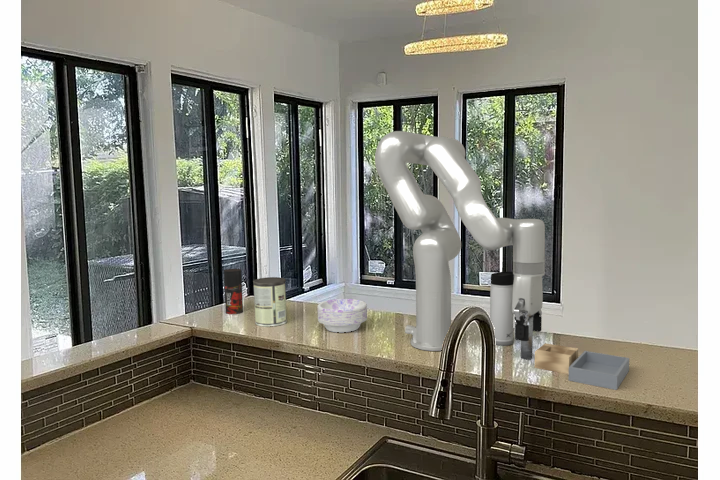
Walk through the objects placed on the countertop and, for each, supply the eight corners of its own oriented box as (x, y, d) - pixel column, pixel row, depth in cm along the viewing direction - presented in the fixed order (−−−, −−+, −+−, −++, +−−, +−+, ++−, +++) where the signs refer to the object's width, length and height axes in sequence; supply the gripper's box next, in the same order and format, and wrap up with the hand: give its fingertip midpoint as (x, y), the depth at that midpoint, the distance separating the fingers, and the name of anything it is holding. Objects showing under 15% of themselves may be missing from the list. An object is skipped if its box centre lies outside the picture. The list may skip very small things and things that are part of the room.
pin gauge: (518, 358, 138) (518, 312, 136) (522, 355, 140) (523, 309, 139) (530, 360, 136) (531, 313, 134) (534, 357, 138) (535, 311, 137)
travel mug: (515, 346, 147) (516, 273, 145) (490, 345, 149) (491, 273, 146) (513, 339, 153) (514, 269, 151) (489, 338, 155) (490, 269, 152)
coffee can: (260, 318, 182) (259, 276, 180) (290, 319, 180) (289, 277, 179) (250, 326, 172) (248, 282, 170) (281, 327, 170) (280, 283, 168)
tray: (568, 380, 122) (568, 367, 122) (584, 362, 133) (584, 350, 133) (616, 390, 116) (617, 376, 116) (628, 370, 128) (629, 358, 127)
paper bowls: (322, 337, 158) (321, 311, 157) (314, 324, 173) (313, 300, 172) (372, 333, 162) (372, 307, 161) (360, 320, 177) (360, 296, 176)
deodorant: (223, 314, 188) (221, 271, 186) (228, 310, 194) (226, 268, 192) (240, 314, 187) (238, 271, 186) (245, 310, 193) (243, 268, 192)
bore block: (534, 367, 131) (534, 351, 130) (544, 358, 137) (545, 343, 137) (568, 374, 126) (569, 357, 126) (577, 364, 132) (578, 348, 132)
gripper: (525, 262, 144) (525, 325, 146) (501, 272, 130) (501, 342, 132) (554, 264, 140) (554, 329, 142) (532, 275, 126) (532, 346, 128)
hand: (528, 335), depth 137 cm, fingers open, 9 cm apart
